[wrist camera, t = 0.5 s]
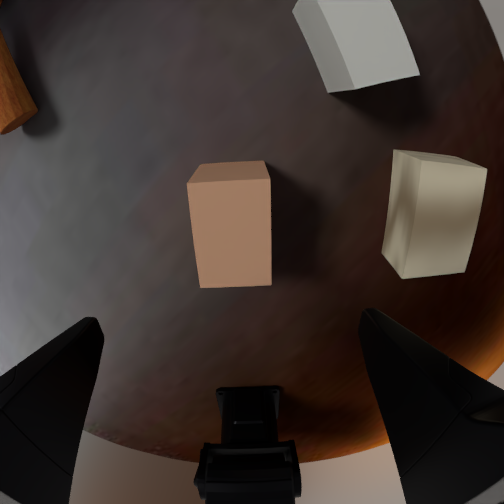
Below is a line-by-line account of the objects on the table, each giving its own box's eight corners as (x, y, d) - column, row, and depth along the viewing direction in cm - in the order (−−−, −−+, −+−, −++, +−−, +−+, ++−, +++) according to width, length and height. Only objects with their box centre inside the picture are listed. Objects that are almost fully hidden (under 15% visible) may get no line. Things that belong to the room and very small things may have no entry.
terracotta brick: (265, 245, 21) (271, 285, 17) (209, 247, 21) (200, 287, 17) (263, 160, 18) (270, 179, 14) (200, 164, 18) (186, 183, 14)
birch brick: (439, 248, 22) (464, 272, 18) (380, 251, 22) (402, 278, 18) (454, 156, 18) (487, 169, 15) (392, 148, 18) (421, 160, 15)
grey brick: (380, 79, 16) (420, 74, 11) (327, 92, 16) (355, 89, 12) (347, 0, 13) (377, -25, 9) (291, 11, 14) (307, -17, 9)
